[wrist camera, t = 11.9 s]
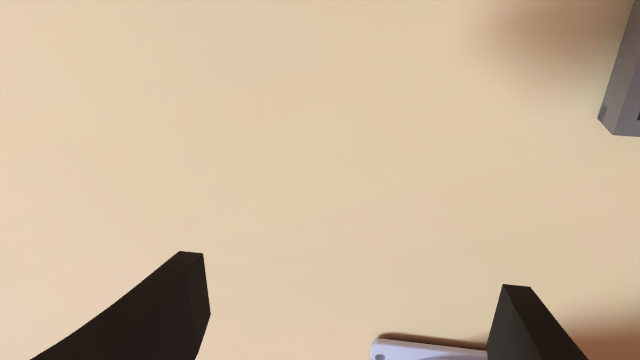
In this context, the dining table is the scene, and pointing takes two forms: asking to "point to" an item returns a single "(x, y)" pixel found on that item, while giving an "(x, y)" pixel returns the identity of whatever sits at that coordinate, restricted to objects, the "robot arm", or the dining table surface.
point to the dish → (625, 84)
